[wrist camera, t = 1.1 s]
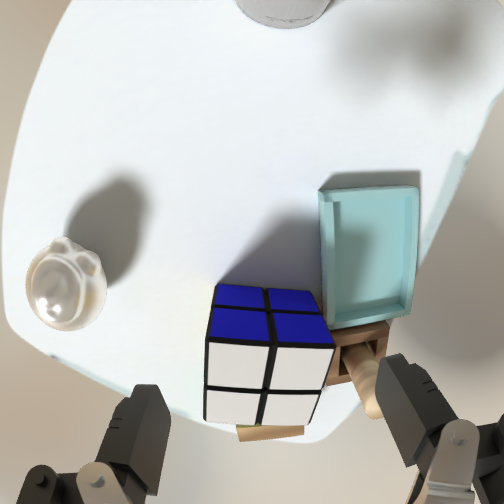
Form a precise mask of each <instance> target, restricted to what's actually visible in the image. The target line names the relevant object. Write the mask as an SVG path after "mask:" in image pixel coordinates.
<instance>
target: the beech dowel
mask: <svg viewBox="0 0 504 504" xmlns="http://www.w3.org/2000/svg"><path fill="white" fill-rule="evenodd" d="M340 354H341V357H342V359H343V361H344V363H345V365H346V368H347V370H348V372H349V374H350V377H351V379H352V381H353V384H354V386H355V388H356V390H357V393H358V395H359V397H360V400H361V402H362V404H363V407H364V409H365V411H366V413H367V416H368V417H369V418H370V419H379V418H383V417H384V416H383V414H382V411H381V409H380V407H379V405H378V403H377V400H376V396H375V384H376V379H377V374H378V368H379V365H378V363H377V361H376V360H375V358H374V356H373V354H372V353H371V351H370V349H369V348H368V346H367V344H366V343H365V342H361V343H356V344H351V345H346V346H340Z"/></svg>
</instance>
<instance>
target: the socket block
mask: <svg viewBox="0 0 504 504" xmlns="http://www.w3.org/2000/svg"><path fill="white" fill-rule="evenodd" d="M389 329H390V326H389V325H388V324H387V323H386V321H385V320H382V321H377V322H372V323H367V324H362V325H356V326H351V327H345V328H339V329H334V330H329V331H330V333H331V335H332V337H333V339H334V341H335V344H336V346H337V348H336V351H335V354H334V357H333V361H332V364H331V367H330V370H329V373H328V376H327V379H326V385H327V386H330V385H335V384H340V383H345V382H350V381H352V379H351V377H350V374H349V372H348V370H347V368H346V365H345V363H344V361H343V359H340V346H346V345H351V344H356V343H361V342H366V341H367V346H368V348H369V349H370V351H371V353H372V354H373V356H374V358H375V360H376V361H377V363H378V365H379V362H380V359H381V358H383V357H385V355H386V349H387V343H388V336H389Z"/></svg>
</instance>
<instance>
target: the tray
mask: <svg viewBox="0 0 504 504" xmlns="http://www.w3.org/2000/svg"><path fill="white" fill-rule="evenodd" d="M318 203H319V219H320V239H321V265H322V317H323V318H324V320H325V322H326V324H327V326H328V328H329V330H334V329H339V328H345V327H351V326H356V325H362V324H367V323H372V322H377V321H382V320H387V319H391V318H396V317H401V316H405V315H409V314H410V312H411V305H412V297H413V289H414V281H415V271H416V259H417V245H418V224H419V188H418V187H414V186H410V185H398V186H378V187H360V188H345V189H332V190H319V191H318Z"/></svg>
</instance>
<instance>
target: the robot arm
mask: <svg viewBox="0 0 504 504" xmlns="http://www.w3.org/2000/svg"><path fill="white" fill-rule="evenodd" d="M330 1H331V0H236V3H237V5H238V7H239V8H240V9H241V10H242V12H243V13H244V14H246V15H247V16H248V17H249V18H251V19H253V20H254V21H256V22H258V23H261V24H263V25H266V26H270V27H275V28H285V29H289V28H298V27H302V26H306V25H308V24H310V23H312V22H314V21H315V20H317V19H318V18H319V17H320V16H321V14H322V13H323V12H324V10H325V9H326V7H327V5H328V4H329V2H330ZM375 396H376V400H377V403H378V405H379V407H380V409H381V411H382V414H383V416H384V418H385V420H386V422H387V424H388V427H389V429H390V431H391V433H392V436H393V438H394V440H395V442H396V445H397V447H398V449H399V451H400V454H401V456H402V458H403V461H404V463H405V465H406V467H409V466H412V465H415V464H417V466H418V469H419V470H418V472H417V475H416V478H415V480H414V483H413V486H412V489H411V491H410V493H409V496H408V498H407V501H406V503H405V504H474V500H475V493H474V491H471V483H473V485H474V488H475V490H476V492H477V495H478V498H479V500H480V503H481V504H504V414H503V415H502V416H501V418H500V420H499V421H498V422H497V423H492V424H487V425H482V426H475V424H473V423H472V422H470V421H468V420H463V419H459V418H458V417H457V416H456V414H455V413H454V411H453V410H452V408H451V407H450V405H449V404H448V402H447V400H446V399H445V398H444V396H443V395H442V393H441V392H440V390H438V388H437V386H436V384H435V383H434V382H433V381H432V379H431V377H430V376H429V374H428V373H427V372H426V370H424V369H423V368H422V367H420V366H418V365H417V364H416V363H414V364H410V365H409V363H408V362H407V360H406V359H405V357H404V356H403V355H402V354H401V353H399V354H395V355H392V356H388V357H383V358H381V359H380V362H379V368H378V374H377V379H376V384H375ZM170 427H171V416H170V412H169V409H168V407H167V405H166V403H165V401H164V398H163V396H162V394H161V392H160V389H159V387H158V386H157V385H151V384H137V385H136V386H135V387H134V389H133V392H132V395H131V397H130V398H128V397H125V398H124V399H123V400H122V401H121V402H120V403H119V404H118V405H117V407H116V408H115V411H114V413H113V416H112V420H111V421H110V423H109V428H108V429H107V431H106V433H105V436H104V439H103V441H102V444H101V447H100V449H99V452H98V455H97V457H96V460H95V461H94V462H92V463H88V464H86V465H85V466H83V467H82V468H81V469H80V470H79V472H78V473H65V474H64V473H63V474H57V473H56V472H55V471H54V470H53V469H51V468H50V467H48V466H46V465H37V466H35V467H33V468H32V469H31V470H30V471H29V472H28V474H27V476H26V478H25V481H24V483H23V486H22V489H21V491H20V494H19V497H18V500H17V503H16V504H145V498H146V495H151V496H157V493H158V487H159V481H160V476H161V470H162V466H163V461H164V456H165V451H166V446H167V441H168V436H169V432H170Z"/></svg>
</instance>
